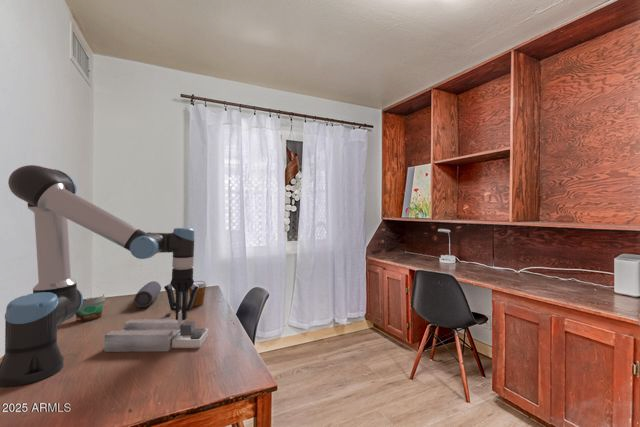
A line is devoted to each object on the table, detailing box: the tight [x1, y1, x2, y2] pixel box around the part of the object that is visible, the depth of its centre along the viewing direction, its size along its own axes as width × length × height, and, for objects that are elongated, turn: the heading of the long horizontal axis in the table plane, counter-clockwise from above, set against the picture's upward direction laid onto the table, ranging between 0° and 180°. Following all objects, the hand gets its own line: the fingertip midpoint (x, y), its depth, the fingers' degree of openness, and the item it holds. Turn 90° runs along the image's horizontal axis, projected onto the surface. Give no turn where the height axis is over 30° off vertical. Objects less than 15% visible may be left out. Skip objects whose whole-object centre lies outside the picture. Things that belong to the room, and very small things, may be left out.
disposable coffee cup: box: [188, 280, 208, 307], centre depth 166 cm, size 10×10×12 cm
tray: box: [171, 328, 210, 349], centre depth 119 cm, size 11×10×3 cm
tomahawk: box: [158, 312, 172, 319], centre depth 138 cm, size 21×7×1 cm, turn 166°
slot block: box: [104, 318, 186, 353], centre depth 117 cm, size 16×22×6 cm
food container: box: [75, 294, 106, 323], centre depth 140 cm, size 12×6×10 cm, turn 143°
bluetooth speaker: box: [134, 281, 162, 308], centre depth 167 cm, size 23×9×10 cm, turn 17°
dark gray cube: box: [180, 321, 196, 336], centre depth 118 cm, size 4×4×4 cm
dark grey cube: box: [191, 327, 206, 339], centre depth 119 cm, size 4×4×4 cm
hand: (180, 328), depth 118 cm, fingers closed
